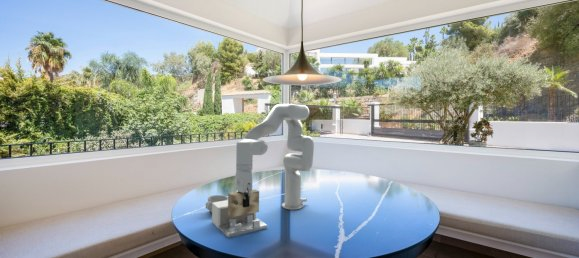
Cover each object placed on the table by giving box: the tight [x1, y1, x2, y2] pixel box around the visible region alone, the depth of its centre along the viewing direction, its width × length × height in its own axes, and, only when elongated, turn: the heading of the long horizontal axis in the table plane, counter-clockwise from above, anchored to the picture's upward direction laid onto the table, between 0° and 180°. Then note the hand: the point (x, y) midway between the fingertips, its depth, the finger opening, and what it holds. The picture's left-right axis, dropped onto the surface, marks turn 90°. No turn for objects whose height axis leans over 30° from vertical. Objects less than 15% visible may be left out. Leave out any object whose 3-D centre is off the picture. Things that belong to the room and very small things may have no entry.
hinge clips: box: [217, 215, 268, 239], centre depth 136 cm, size 20×12×4 cm, turn 124°
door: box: [227, 189, 260, 217], centre depth 133 cm, size 14×5×10 cm, turn 124°
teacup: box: [205, 194, 228, 213], centre depth 157 cm, size 14×11×8 cm
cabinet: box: [211, 199, 257, 229], centre depth 145 cm, size 20×9×10 cm, turn 124°
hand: (243, 205), depth 134 cm, fingers closed on door, 4 cm apart
